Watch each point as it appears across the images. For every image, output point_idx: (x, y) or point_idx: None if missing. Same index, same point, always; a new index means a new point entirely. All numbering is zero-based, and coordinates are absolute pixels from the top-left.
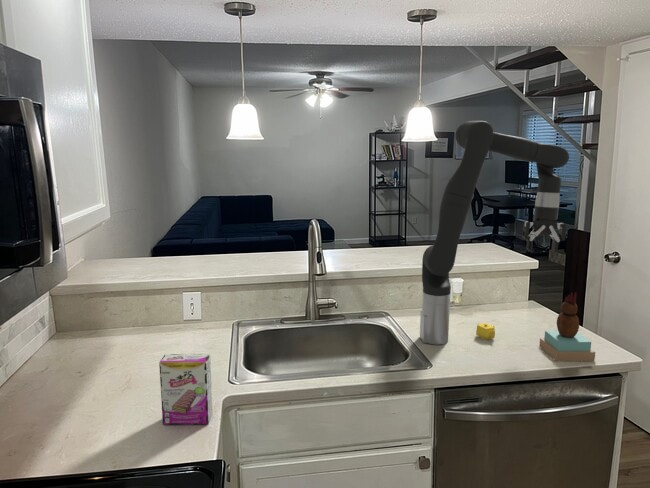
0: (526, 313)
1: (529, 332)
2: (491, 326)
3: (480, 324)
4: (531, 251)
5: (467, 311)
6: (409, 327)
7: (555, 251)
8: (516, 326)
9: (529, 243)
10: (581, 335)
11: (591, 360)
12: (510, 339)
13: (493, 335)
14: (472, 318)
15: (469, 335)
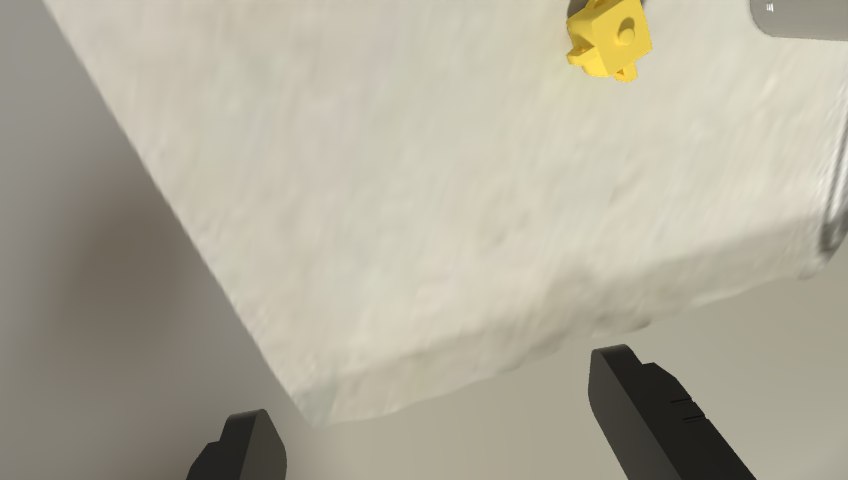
0: (355, 330)
1: (394, 127)
2: (599, 33)
3: (637, 56)
4: (596, 349)
5: (557, 309)
6: (820, 113)
7: (236, 422)
8: (428, 189)
9: (716, 455)
10: None
11: None
12: (496, 27)
13: (578, 13)
14: (564, 245)
15: None
